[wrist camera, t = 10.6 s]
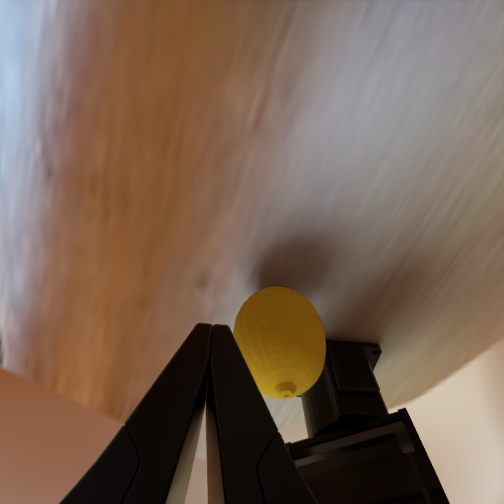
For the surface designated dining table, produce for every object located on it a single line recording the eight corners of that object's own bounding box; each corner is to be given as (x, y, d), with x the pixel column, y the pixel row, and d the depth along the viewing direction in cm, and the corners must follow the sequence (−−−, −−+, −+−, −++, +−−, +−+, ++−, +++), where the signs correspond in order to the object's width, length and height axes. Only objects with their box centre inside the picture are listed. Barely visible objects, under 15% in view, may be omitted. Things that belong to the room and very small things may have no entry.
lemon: (218, 291, 24) (208, 392, 17) (282, 249, 22) (301, 341, 15) (265, 335, 26) (274, 439, 19) (326, 300, 24) (360, 399, 17)
